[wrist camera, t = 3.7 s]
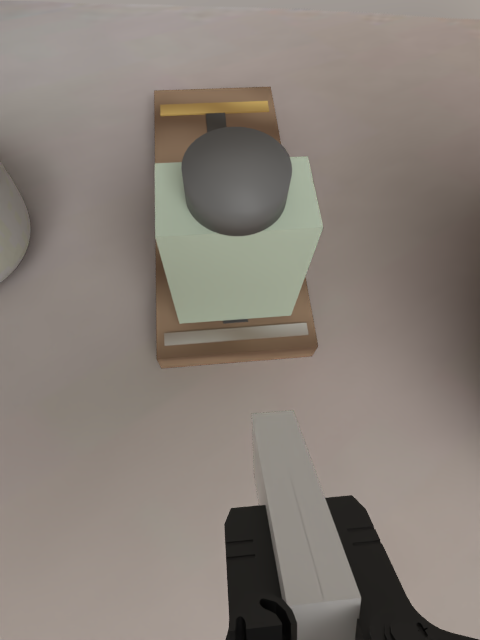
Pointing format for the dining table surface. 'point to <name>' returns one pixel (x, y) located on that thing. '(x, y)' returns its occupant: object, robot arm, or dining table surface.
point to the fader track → (171, 337)
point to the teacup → (12, 225)
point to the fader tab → (235, 226)
